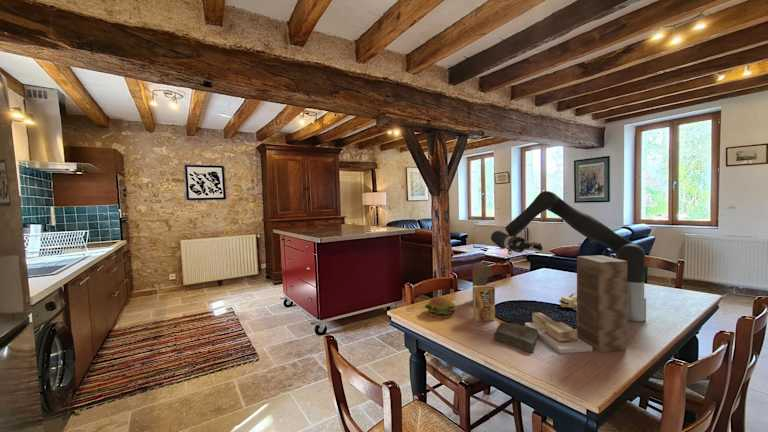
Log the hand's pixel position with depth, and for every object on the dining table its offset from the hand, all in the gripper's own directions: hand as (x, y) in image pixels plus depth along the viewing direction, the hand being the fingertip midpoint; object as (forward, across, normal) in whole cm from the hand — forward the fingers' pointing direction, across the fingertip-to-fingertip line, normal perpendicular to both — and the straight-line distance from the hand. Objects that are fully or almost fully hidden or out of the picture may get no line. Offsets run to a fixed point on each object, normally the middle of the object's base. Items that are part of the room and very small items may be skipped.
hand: (532, 248), depth 143 cm
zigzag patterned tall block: (+27, +11, +32) cm, 43 cm away
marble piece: (+20, -18, +33) cm, 42 cm away
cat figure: (-13, +33, +32) cm, 48 cm away
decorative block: (-24, -14, +32) cm, 42 cm away
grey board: (+20, -2, +32) cm, 38 cm away
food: (-12, -40, +32) cm, 53 cm away
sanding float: (+17, -2, +30) cm, 35 cm away
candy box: (-2, -22, +32) cm, 39 cm away
